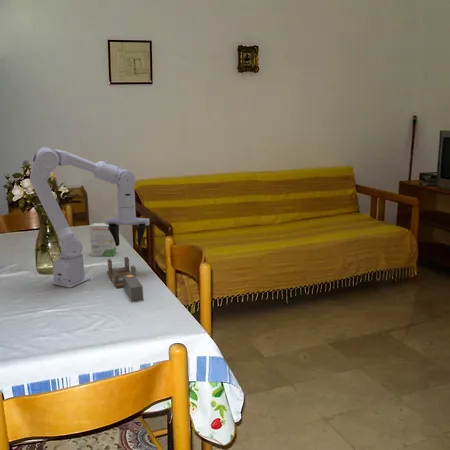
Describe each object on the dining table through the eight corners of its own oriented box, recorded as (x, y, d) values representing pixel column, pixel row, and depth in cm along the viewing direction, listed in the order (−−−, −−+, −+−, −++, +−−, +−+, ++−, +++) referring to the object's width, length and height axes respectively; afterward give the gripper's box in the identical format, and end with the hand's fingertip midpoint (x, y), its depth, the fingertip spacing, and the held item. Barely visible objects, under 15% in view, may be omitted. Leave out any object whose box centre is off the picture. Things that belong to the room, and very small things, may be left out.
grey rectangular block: (143, 300, 159) (142, 285, 157) (131, 302, 157) (130, 287, 156) (134, 287, 169) (134, 273, 168) (123, 289, 168) (122, 274, 167)
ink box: (91, 256, 203) (88, 225, 200) (95, 252, 208) (93, 222, 205) (113, 256, 202) (111, 226, 199) (117, 252, 207) (115, 222, 204)
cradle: (138, 285, 171) (137, 268, 169) (116, 288, 168) (115, 271, 167) (127, 270, 185) (126, 255, 184) (107, 273, 183) (106, 258, 181)
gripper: (150, 203, 181) (152, 242, 184) (108, 203, 182) (111, 242, 185) (146, 208, 174) (147, 248, 177) (102, 207, 175) (105, 247, 178)
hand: (128, 245), depth 181 cm, fingers open, 7 cm apart
